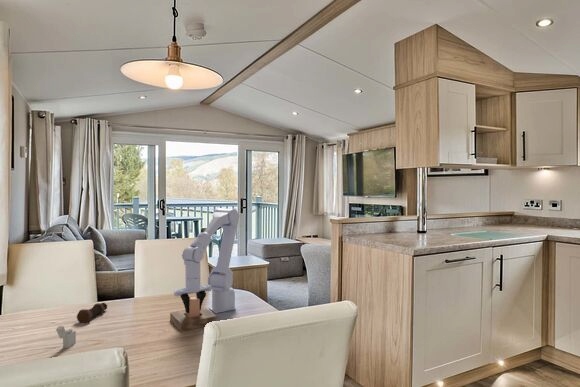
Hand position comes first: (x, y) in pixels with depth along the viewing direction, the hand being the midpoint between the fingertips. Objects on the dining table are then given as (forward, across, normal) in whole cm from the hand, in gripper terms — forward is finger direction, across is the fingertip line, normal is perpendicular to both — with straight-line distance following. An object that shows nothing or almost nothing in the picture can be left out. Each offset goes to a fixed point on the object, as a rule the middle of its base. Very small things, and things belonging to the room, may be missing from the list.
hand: (193, 311), depth 146 cm
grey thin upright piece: (+4, +43, -1) cm, 43 cm away
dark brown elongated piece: (+5, +32, -29) cm, 43 cm away
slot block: (+4, 0, 0) cm, 4 cm away
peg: (+3, 0, 0) cm, 3 cm away
